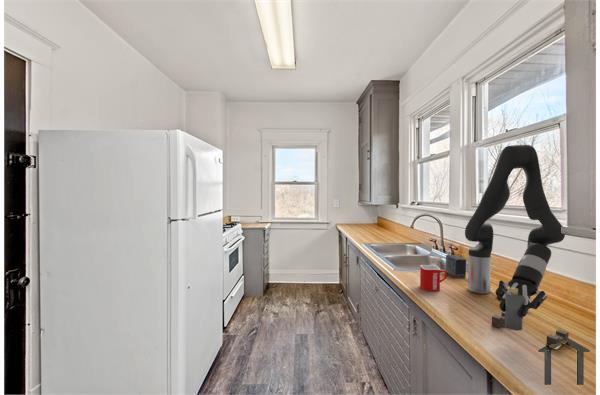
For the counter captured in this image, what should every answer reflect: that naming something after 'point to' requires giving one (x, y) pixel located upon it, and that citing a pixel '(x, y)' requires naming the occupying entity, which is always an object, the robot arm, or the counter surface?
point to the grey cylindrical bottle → (513, 309)
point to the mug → (431, 277)
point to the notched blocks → (551, 339)
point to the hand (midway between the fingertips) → (510, 313)
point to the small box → (456, 266)
